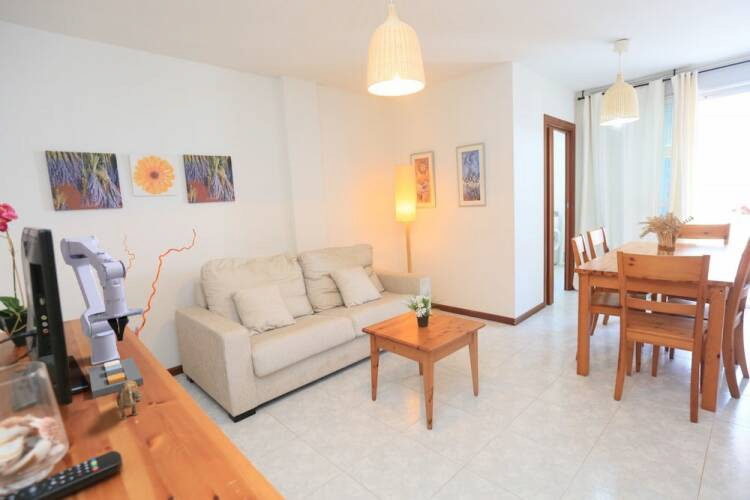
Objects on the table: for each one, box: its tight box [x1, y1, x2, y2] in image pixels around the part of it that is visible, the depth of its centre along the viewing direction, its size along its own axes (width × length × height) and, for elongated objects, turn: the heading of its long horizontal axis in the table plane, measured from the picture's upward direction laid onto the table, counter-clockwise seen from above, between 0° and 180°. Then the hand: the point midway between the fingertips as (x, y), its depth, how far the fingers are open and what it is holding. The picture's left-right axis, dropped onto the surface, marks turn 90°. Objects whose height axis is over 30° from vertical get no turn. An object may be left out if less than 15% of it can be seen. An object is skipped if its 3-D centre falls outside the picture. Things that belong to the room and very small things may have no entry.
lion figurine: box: [116, 381, 143, 421], centre depth 98 cm, size 15×5×9 cm, turn 36°
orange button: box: [107, 372, 126, 385], centre depth 113 cm, size 4×4×2 cm
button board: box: [88, 356, 144, 399], centre depth 118 cm, size 21×12×2 cm, turn 39°
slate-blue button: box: [105, 364, 123, 376], centre depth 118 cm, size 4×4×2 cm
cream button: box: [103, 359, 120, 370], centre depth 123 cm, size 4×4×2 cm
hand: (120, 340), depth 125 cm, fingers closed
